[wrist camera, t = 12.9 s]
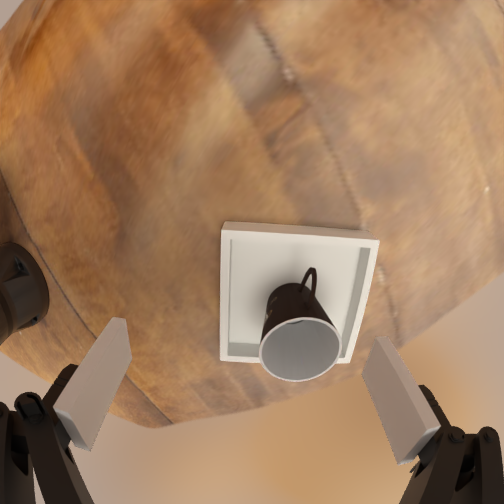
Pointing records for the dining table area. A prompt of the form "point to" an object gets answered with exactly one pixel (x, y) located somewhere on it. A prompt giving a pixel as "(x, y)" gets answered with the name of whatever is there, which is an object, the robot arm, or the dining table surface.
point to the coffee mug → (298, 333)
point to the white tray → (291, 279)
